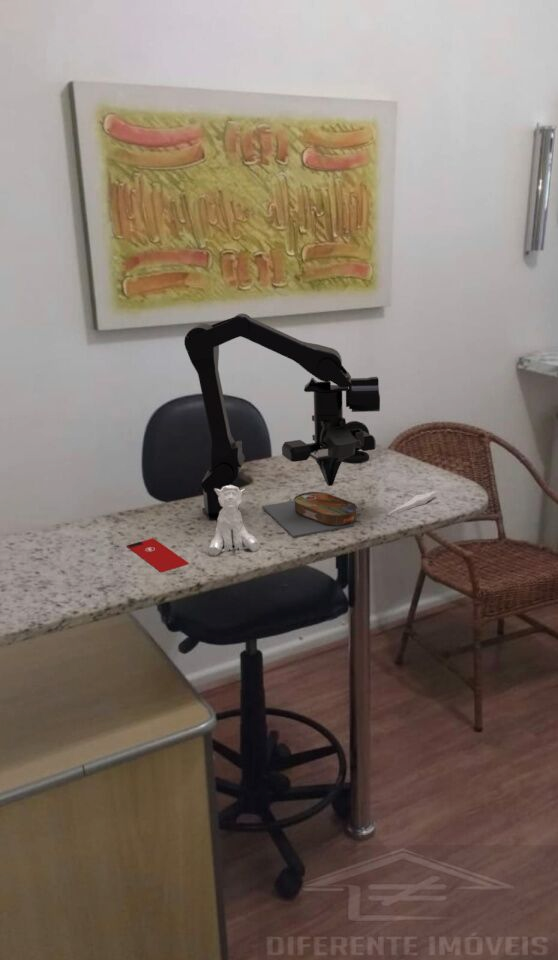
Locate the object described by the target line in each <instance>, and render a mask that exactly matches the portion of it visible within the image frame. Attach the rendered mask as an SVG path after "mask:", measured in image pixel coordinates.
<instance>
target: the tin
mask: <svg viewBox="0 0 558 960" xmlns="http://www.w3.org/2000/svg"><path fill="white" fill-rule="evenodd" d="M293 501H295V510H296V512H297V513H298V514H300V515H303V516H305V517H308V518H310V519H312V520H315V521H317V522H320V523H322V524H326V525H331V526H340V525H344V524H347V523H350V522H351V523H352V522H354V521H356V520H357V510H358V506H357V505H356V504H355V503H354V502H352V501H349V500H346V499H343V498H341V497H339V496H336V495H333V494H330V493H327V492H321V491H309V492H303V493H299V494H297V495H296V496H295V497H294V500H293Z"/></svg>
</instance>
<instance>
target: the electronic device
mask: <svg viewBox="0 0 558 960" xmlns="http://www.w3.org/2000/svg"><path fill="white" fill-rule="evenodd" d="M126 548H128V549H129V550H130V551H131V552H133V553H134V554H136V555H137V556H138V557H139V558H141V559H142V560H143V561H145V562H146V563H147V564H149V565H150V566H152V567H153V568H154V569H155V570H157V571H158V572H160V573H165V572H169V571H172V570H175V569H178V568H181V567H184V566H187V565H189V562H188V561H186V560H185V559H184V558H182V556H180V555H178V554H177V553H175V552H174V551H173V550H171V549H170V548H168V547H166V546H165V545H164V544H162V543H161V542H159V541H158V540H157V539H155V538H149V539H145V540H142V541H137V542H134V543H130V544H128V545H127V546H126Z"/></svg>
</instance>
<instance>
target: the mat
mask: <svg viewBox="0 0 558 960" xmlns="http://www.w3.org/2000/svg"><path fill="white" fill-rule="evenodd" d="M261 508H262V509H263V510H264V511H265V512H266V513H267V514H268V515H269V516H270V517H271V518H272V519H273V520H274V521H275V522H276V523H277V524H278V525H279V526H281V528H283V530H285V531H286V533H287V534H289V535H290V536H291V537H292V538H301V537H304V536H309V535H314V534H320V533H324V532H325V533H326V532H330V531H335V530H340V529H345V528H351V527H352V528H353V527H354V523H352V522H350V523H347V524H344V525H340V526H331V525H326V524H322V523H320V522H317V521H315V520H312V519H310V518H308V517H305V516H303V515H300V514H298V513H297V512H296V510H295V501H294V500H289V501H283V502H277V503H271V504H266V505H265V504H264V505H262V506H261Z"/></svg>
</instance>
